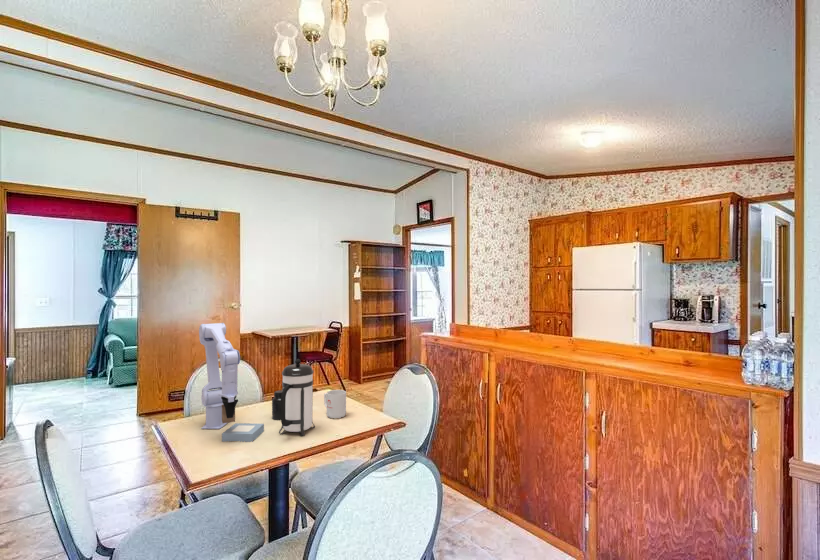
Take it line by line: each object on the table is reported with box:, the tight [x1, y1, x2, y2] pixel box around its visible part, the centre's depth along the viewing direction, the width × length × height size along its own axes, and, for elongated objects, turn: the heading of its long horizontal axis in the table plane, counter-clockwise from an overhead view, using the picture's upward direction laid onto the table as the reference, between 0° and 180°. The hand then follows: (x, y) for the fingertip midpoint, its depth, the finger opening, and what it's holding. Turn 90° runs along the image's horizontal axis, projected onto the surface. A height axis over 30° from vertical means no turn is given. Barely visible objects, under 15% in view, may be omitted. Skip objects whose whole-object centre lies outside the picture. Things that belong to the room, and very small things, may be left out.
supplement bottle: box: [271, 389, 282, 421], centre depth 190 cm, size 7×7×12 cm
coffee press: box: [278, 358, 316, 437], centre depth 172 cm, size 17×16×30 cm
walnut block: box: [222, 405, 236, 424], centre depth 164 cm, size 4×4×6 cm
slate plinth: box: [221, 422, 265, 443], centre depth 167 cm, size 12×12×3 cm
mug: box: [323, 389, 347, 419], centre depth 194 cm, size 12×9×11 cm
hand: (229, 415), depth 165 cm, fingers closed on walnut block, 4 cm apart
